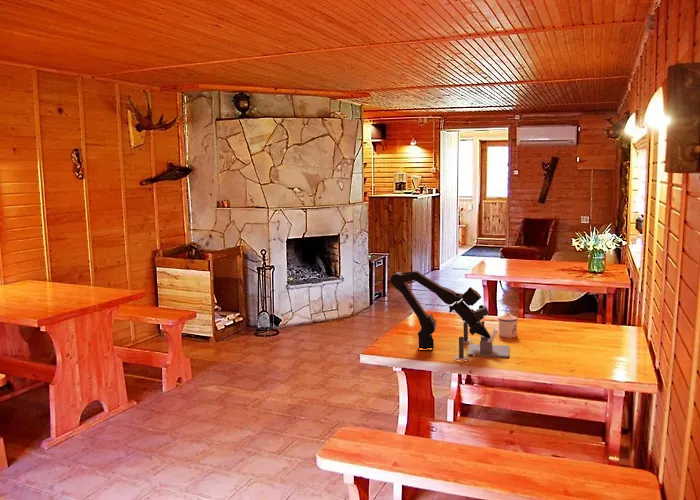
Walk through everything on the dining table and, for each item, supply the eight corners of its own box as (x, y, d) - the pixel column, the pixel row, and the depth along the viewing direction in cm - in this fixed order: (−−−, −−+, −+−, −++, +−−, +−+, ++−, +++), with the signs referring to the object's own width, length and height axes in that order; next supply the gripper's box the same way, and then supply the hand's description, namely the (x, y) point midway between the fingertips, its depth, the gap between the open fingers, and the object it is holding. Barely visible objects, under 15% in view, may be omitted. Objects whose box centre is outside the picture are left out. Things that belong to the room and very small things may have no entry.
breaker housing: (467, 356, 255) (466, 342, 254) (469, 346, 270) (469, 333, 269) (509, 358, 250) (509, 344, 249) (509, 347, 265) (509, 335, 265)
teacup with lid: (515, 338, 280) (516, 315, 279) (496, 337, 284) (496, 314, 283) (519, 332, 291) (519, 310, 290) (500, 331, 295) (501, 308, 293)
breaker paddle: (484, 348, 257) (495, 329, 255) (485, 344, 263) (495, 326, 261) (488, 350, 257) (498, 331, 255) (488, 346, 263) (498, 327, 260)
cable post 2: (460, 344, 273) (459, 323, 272) (458, 340, 279) (458, 320, 278) (472, 344, 273) (472, 323, 272) (471, 340, 279) (471, 320, 278)
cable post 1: (454, 362, 247) (454, 339, 246) (453, 357, 253) (453, 335, 252) (469, 362, 246) (469, 339, 245) (467, 357, 252) (467, 335, 251)
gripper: (477, 304, 250) (503, 331, 248) (479, 296, 267) (503, 320, 266) (458, 322, 252) (484, 347, 251) (461, 312, 270) (485, 336, 269)
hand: (490, 337), depth 259 cm, fingers closed, pressing on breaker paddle
